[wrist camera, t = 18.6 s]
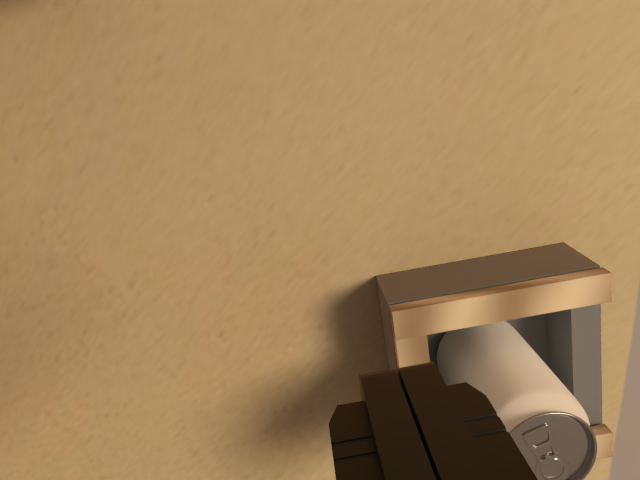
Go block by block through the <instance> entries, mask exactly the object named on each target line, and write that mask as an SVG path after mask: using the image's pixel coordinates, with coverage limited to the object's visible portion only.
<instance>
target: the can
mask: <svg viewBox="0 0 640 480" xmlns="http://www.w3.org/2000/svg"><path fill="white" fill-rule="evenodd" d="M436 359H437V366H438V370H439V372H440V374H441V376H442V378H443V380H444V382H445V384H446V386H448V385H453V384H459V383H464V382H467V383H468V384H470V385H471V386H473V387H474V388H476V389H477V390H479V391H480V392H482V393H483V394H485V395H486V396H487V398H488V399H489V401H490V403H491V404H492V406H493V408H494V409H495V411H496V412H497V416H499V417H500V419H501V421H502V422H503V424H504V425H505V427H506V431H507V432H509V434H510V435H511V437H512V438H513V440H514V442H515V443H516V445H517V447H518V448H519V450H520V451H521V453H522V455H523V456H524V458H525V460H526V461H527V463H528V464H529V466H530V468H531V469H532V471H533V473H534V474H535V476H536V477H537V479H538V480H583V479H584V478H585V477H586V476H587V475H588V473H589V472H590V470H591V469H592V467H593V465H594V462H595V460H596V456H597V440H596V437H595V434H594V432H593V430H592V429H591V427H590V423H589V419H588V416H587V414H586V412H585V410H584V409H583V407H582V406H581V405H580V403H579V402H578V401H577V400H576V398H575V397H574V396H573V395H572V394H571V392H570V391H569V390H568V389H567V388H566V387H565V385H564V384H563V383H562V382H561V381H560V380H559V379H558V377H557V376H556V375H555V374H554V373H553V372H552V371H551V369H550V368H549V367H548V366H547V365H546V364H545V363H544V361H543V360H542V359H541V358H540V357H539V356H538V355H537V353H536V352H535V351H534V350H533V349H532V348H531V347H530V345H529V344H528V343H527V342H526V341H525V340H524V339H523V338H522V336H521V335H520V334H519V333H518V332H517V331H516V330H515V329H514V328H513V327H512V326H511V325H510V324H509V323H508V322H506V321H501V322H496V323H490V324H485V325H479V326H474V327H468V328H462V329H457V330H451V331H447V332H446V334H445V335H444V336H443V338H442V339H441V341H440V344H439V346H438V350H437V358H436Z"/></svg>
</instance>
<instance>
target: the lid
mask: <svg viewBox="0 0 640 480" xmlns="http://www.w3.org/2000/svg"><path fill="white" fill-rule="evenodd" d="M607 302H612V295H611V272H609V271H608V270H606V269H605V268H603V267H602V268H596V269H591V270H585V271H580V272H574V273H568V274H563V275H557V276H552V277H546V278H540V279H535V280H529V281H524V282H518V283H512V284H507V285H501V286H496V287H490V288H484V289H479V290H473V291H468V292H462V293H457V294H451V295H445V296H440V297H434V298H429V299H423V300H417V301H412V302H406V303H401V304H395V305H389V309H390V316H391V323H392V330H393V337H394V345H395V352H396V359H397V366H398V368H401V367H407V366H412V365H418V364H423V363H429V362H430V357H429V349H428V341H427V335H429V334H435V333H440V332H446V331H451V330H457V329H462V328H468V327H474V326H479V325H485V324H490V323H496V322H501V321H507V320H512V319H518V318H524V317H529V316H535V315H540V314H546V313H551V312H557V311H563V310H568V309H574V308H579V307H585V306H590V305H596V304H601V303H607ZM591 429H592V430H593V432H594V434H595V437H596V440H597V456H596V460H597V459H602V458H608V457H613V433H612V432H611V430H610V429H609V428H608V427H607V426H606V425H605V424H602V425H597V426H591Z"/></svg>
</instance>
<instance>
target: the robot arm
mask: <svg viewBox="0 0 640 480" xmlns="http://www.w3.org/2000/svg"><path fill="white" fill-rule="evenodd" d="M359 382H360V388H361V394H362V401H360V402H355V403H349V404H344V405H338V406H337V407H336V410H335V412H334V414H333V416H332V418H331V420H330V422H329V429H330V436H331V444H332V451H333V459H334V466H335V474H336V480H538V479H537V477H536V476H535V474H534V473H533V471H532V469H531V468H530V466H529V464H528V463H527V461H526V460H525V458H524V456H523V455H522V453H521V451H520V450H519V448H518V447H517V445H516V443H515V442H514V440H513V438H512V437H511V435H510V434H509V432H507V431H506V427H505V425H504V424H503V422H502V421H501V419H500V417H499V416H497V412H496V411H495V409H494V408H493V406H492V404H491V403H490V401H489V399H488V398H487V396H486V395H485V394H483V393H482V392H480V391H479V390H477V389H476V388H474V387H473V386H471V385H470V384H468V383H467V382H464V383H459V384H453V385H448V386H446V384H445V382H444V380H443V378H442V376H441V374H440V372H439V370H438V368H437V366H436V364H435V363H434V362H429V363H423V364H418V365H412V366H407V367H401V368H397V373H396V370H395V369H391V370H385V371H380V372H374V373H369V374H363V375H359Z"/></svg>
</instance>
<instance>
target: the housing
mask: <svg viewBox="0 0 640 480" xmlns="http://www.w3.org/2000/svg"><path fill="white" fill-rule="evenodd" d="M596 268H600V266H599V265H598V264H596V263H595V262H593V261H592V260H590V259H589V258H587V257H585V256H584V255H582V254H581V253H579V252H578V251H576V250H575V249H573V248H571V247H570V246H568V245H567V244H565V243H558V244H553V245H547V246H541V247H536V248H530V249H525V250H519V251H513V252H508V253H502V254H497V255H491V256H485V257H480V258H474V259H468V260H463V261H457V262H452V263H446V264H440V265H435V266H429V267H424V268H418V269H412V270H407V271H401V272H395V273H390V274H384V275H379V276H376V282H377V289H378V296H379V303H380V310H381V317H382V324H383V331H384V338H385V345H386V352H387V359H388V366H389V370H391V369H395V370H396V373H397V368H398V366H397V359H396V352H395V345H394V337H393V330H392V323H391V316H390V309H389V305H395V304H401V303H406V302H412V301H417V300H423V299H429V298H434V297H440V296H445V295H451V294H457V293H462V292H468V291H473V290H479V289H484V288H490V287H496V286H501V285H507V284H512V283H518V282H524V281H529V280H535V279H540V278H546V277H552V276H557V275H563V274H568V273H574V272H580V271H585V270H591V269H596ZM506 322H508V323H509V324H510V325H511V326H512V327H513V328H514V329H515V330H516V331H517V332H518V333H519V334H520V335H521V336H522V338H523V339H524V340H525V341H526V342H527V343H528V344H529V345H530V347H531V348H532V349H533V350H534V351H535V352H536V353H537V355H538V356H539V357H540V358H541V359H542V360H543V361H544V363H545V364H546V365H547V366H548V367H549V368H550V369H551V371H552V372H553V373H554V374H555V375H556V376H557V377H558V379H559V380H560V381H561V382H562V383H563V384H564V385H565V387H566V388H567V389H568V390H569V391H570V392H571V394H572V395H573V396H574V397H575V398H576V400H577V401H578V402H579V403H580V405H581V406H582V407H583V409H584V410H585V412H586V414H587V416H588V419H589V423H590V427H591V426H597V425H602V376H601V304H596V305H590V306H585V307H579V308H574V309H568V310H563V311H557V312H551V313H546V314H540V315H535V316H529V317H524V318H518V319H512V320H507V321H506ZM446 332H447V331H446ZM446 332H440V333H435V334H429V335H427V341H428V349H429V357H430V362H434V363H435V364H436V366H437V359H436V358H437V350H438V346H439V344H440V341H441V339H442V338H443V336H444V335H445V334H446ZM437 368H438V366H437Z"/></svg>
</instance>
